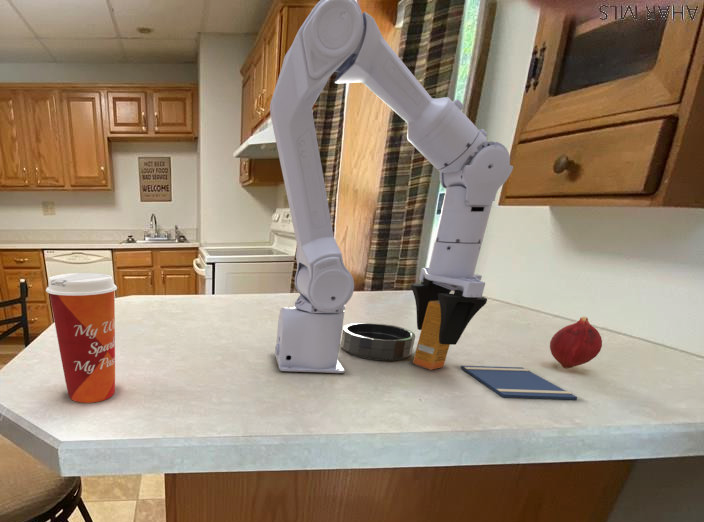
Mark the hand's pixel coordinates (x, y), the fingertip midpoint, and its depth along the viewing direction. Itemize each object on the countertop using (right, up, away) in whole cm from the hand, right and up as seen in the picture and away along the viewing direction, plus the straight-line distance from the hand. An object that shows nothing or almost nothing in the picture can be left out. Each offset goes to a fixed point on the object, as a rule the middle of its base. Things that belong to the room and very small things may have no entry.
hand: (435, 336), depth 64 cm
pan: (-5, -2, +9) cm, 10 cm away
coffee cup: (-50, -9, -8) cm, 51 cm away
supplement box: (0, -5, +2) cm, 5 cm away
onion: (+21, -5, +1) cm, 22 cm away
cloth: (+9, -7, -4) cm, 12 cm away
